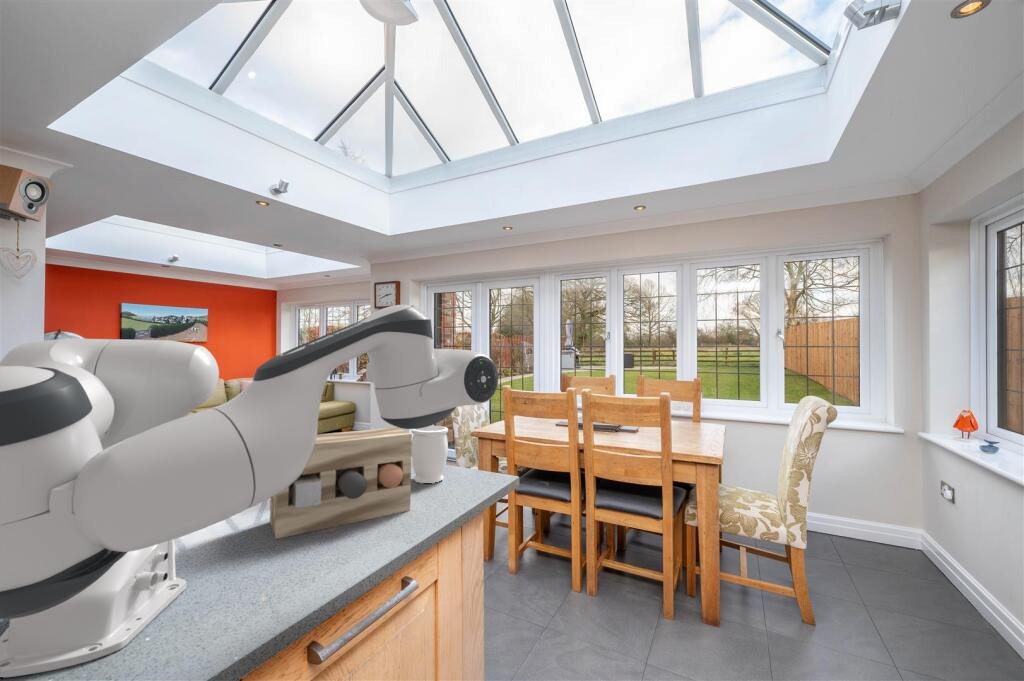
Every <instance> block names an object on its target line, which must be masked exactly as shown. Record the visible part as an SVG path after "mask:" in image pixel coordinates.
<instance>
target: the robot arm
mask: <svg viewBox="0 0 1024 681" xmlns="http://www.w3.org/2000/svg"><path fill="white" fill-rule="evenodd" d="M432 326H433V325H432V319H431V318H430V317H429V316H428V315H427V314H425V312H424V311H422V310H421V309H420V308H418V307H416V306H415V305H414V304H413V305H410V304H395V305H391V306H388V307H383V308H381V309H378V310H377V311H375V312H373V313H372V314H371V315H369V316H366V317H365V318H362V319H360V320H358V321H356V322H354V323H352V324H349V325H347V326H343V327H342V328H340V329H336V330H335V331H332V332H330V333H327V334H325V335H322V336H319V337H318V338H315V339H311V340H310V341H307V342H304V343H303V344H300V345H298V346H296V347H293V348H291V349H289V350H286V351H284V352H282V353H280V354H278V355H276V356H273V357H272V358H270V359H268V360H267V361H265V362H264V363H263V362H262V364H261V365H259V366H258V367H257V368H256V370H255V372H254V375H253V377H252V378H253V379H252V381H251V382H250V383H249V384H248V385H247V386H246V387H245V388H244V389H243V390H242V391H241V392H240V393H238V394H237V395H236V396H235V397H232V399H229V400H228V401H226V402H224V403H222V404H219V405H217V406H214V407H210V408H207V409H205V410H204V409H203V410H200V411H197V412H193V411H194V410H195V409H197V408H198V407H200V406H201V405H203V404H204V403H205V402H206V401H208V399H209V398H210V397H211V396H212V395H213V394H214V392H215V390H216V388H217V386H218V384H219V383H218V382H219V378H220V369H219V365H218V362H217V360H216V358H215V357H214V356H213V354H212V353H211V351H209V349H208V348H206V347H205V346H202V345H197V344H193V343H188V342H182V341H181V342H180V341H176V340H170V339H127V338H126V339H122V338H121V339H116V338H114V339H112V338H110V339H109V338H71V337H70V338H69V337H68V338H57V339H49V340H48V339H47V340H41V341H35V342H27V343H22V344H19V345H17V346H15V347H13V348H12V349H11V350H10V351H8V352H7V353H6V354H5V355H4V357H3V358H2V359H1V361H0V620H9V626H8V627H7V628H6V629H5V631H4V632H3V633H2V635H0V676H4V677H3V678H11V677H12V678H13V677H20V676H26V675H32V674H39V673H45V672H49V671H53V670H59V669H63V668H66V667H72V666H76V665H79V664H83V663H86V662H90V661H93V660H96V659H99V658H101V657H105V656H107V655H110V654H112V653H114V652H117V651H120V650H121V649H123V648H124V647H125V646H127V645H128V644H129V643H130V642H131V641H132V640H133V639H134V638H135V637H137V636H138V634H139V633H141V632H142V631H143V630H144V629H145V628H147V626H148V625H149V624H150V623H151V622H152V621H154V619H155V618H156V617H157V616H158V615H160V613H162V612H163V611H164V610H165V609H166V608H167V607H168V606H169V605H170V604H171V603H172V602H174V600H176V598H177V597H179V596H180V595H181V593H183V592H184V591H185V590H186V589H187V581H186V580H185V579H183V578H180V577H177V576H176V554H175V553H176V552H175V550H176V549H175V539H179V538H181V537H184V536H187V535H190V534H193V533H195V532H198V531H200V530H203V529H206V528H208V527H210V526H213V525H216V524H218V523H220V522H222V521H224V520H227V519H230V518H231V517H233V516H236V515H238V514H240V513H243V512H244V511H246V510H249V509H251V508H253V507H255V506H257V505H259V504H260V503H264V502H265V501H267V500H268V499H271V497H272V496H274V495H276V494H278V493H279V492H281V491H282V490H284V489H285V488H287V487H288V486H289V485H291V484H292V483H293V482H294V481H295V480H296V479H297V478H298V477H299V476H300V475H301V473H302V472H303V470H304V469H305V467H306V465H307V464H308V462H309V459H310V457H311V455H312V452H313V449H314V446H315V442H316V437H317V435H318V426H319V425H318V424H319V423H318V422H319V414H320V409H321V402H322V396H323V394H324V393H323V392H324V390H325V385H326V383H327V381H328V378H329V377H330V375H331V373H332V372H333V371H334V370H335V369H337V368H338V367H339V366H341V365H343V364H345V363H347V362H349V361H351V360H354V359H355V358H358V357H360V356H362V355H363V354H367V357H368V361H369V362H366V366H365V367H366V368H365V378H366V379H365V380H366V381H367V382H368V383H373V386H374V393H375V398H376V402H377V407H378V412H379V416H380V418H381V419H382V420H383V421H384V422H385V423H388V424H389V425H391V426H394V427H397V428H399V429H402V430H403V429H404V430H412V429H419V428H424V427H428V426H435V425H437V424H438V423H441V422H442V421H444V420H446V419H447V418H448V417H449V416H450V415H451V414H452V413H453V412H454V411H455V410H456V408H458V407H462V406H463V407H464V406H477V405H482V404H484V403H487V402H488V401H490V400H492V398H493V396H495V394H496V391H497V388H498V384H499V373H498V369H497V367H496V364H495V362H494V361H493V359H491V358H490V356H488V355H486V354H484V353H481V352H478V351H474V350H469V349H461V348H460V349H458V348H456V349H454V348H453V349H448V348H435V347H434V343H433V342H434V341H433V340H434V338H433V327H432ZM191 412H193V413H191ZM190 413H191V414H190ZM110 424H111V425H110ZM109 426H110V427H109ZM108 428H109V429H108ZM107 430H108V431H107Z"/></svg>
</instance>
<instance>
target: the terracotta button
mask: <svg viewBox="0 0 1024 681" xmlns="http://www.w3.org/2000/svg"><path fill="white" fill-rule="evenodd" d="M402 478H403V472H402V470H401V468H400V467H398V466H396V465H395V464H393V463H392V462H389V463H382V464H378V468H377V480H378V481H379V482H380V483H381V484H383V485H384V486H385V487H387V488H394V487H396V486H397V485H399V483H400V482H401V480H402Z"/></svg>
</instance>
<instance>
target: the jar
mask: <svg viewBox="0 0 1024 681" xmlns="http://www.w3.org/2000/svg"><path fill="white" fill-rule="evenodd" d="M448 432H449V427H446V426H442V425H431V426H428V427H424V428H419V429H411V434H412V445H411V465H412V469H413V471H414V474H415V476H414V477H413V480H414V481H415V482H416V483H418V482H419V484H423V483H432V484H436V483H435V482H438V483H440V482H439V481H441V480H442V481H443V480H444V478H445V477H444V475H443V474H444V473H443V472H444V470H445V468H446V464H447V458H448V453H449V452H448V451H449V445H448V444H449V443H448V436H447V433H448ZM442 481H441V482H442Z"/></svg>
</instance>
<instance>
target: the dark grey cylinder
mask: <svg viewBox="0 0 1024 681" xmlns="http://www.w3.org/2000/svg"><path fill="white" fill-rule="evenodd" d="M337 487H338V488H339V490H340V491H341V492H342V493H343V494H344V495H345V496H346V497H347V498H350V499H356V498H358V497H360V496H362V495H363V494H364V492H365V491H366V488H367V481H366V479H365V478H364V477H363V476H362V475H361V474H360V473H359V472H357V471H356V470H354V469H347V470H345V471H343V472H342V473H341V474H340V475H339V476H338V479H337Z"/></svg>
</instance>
